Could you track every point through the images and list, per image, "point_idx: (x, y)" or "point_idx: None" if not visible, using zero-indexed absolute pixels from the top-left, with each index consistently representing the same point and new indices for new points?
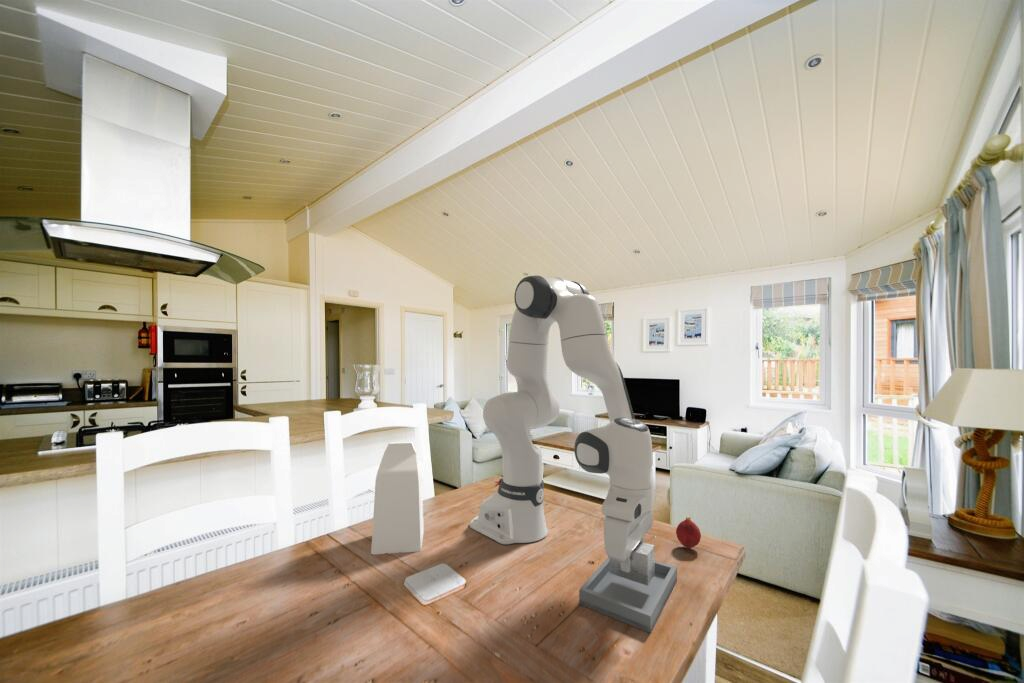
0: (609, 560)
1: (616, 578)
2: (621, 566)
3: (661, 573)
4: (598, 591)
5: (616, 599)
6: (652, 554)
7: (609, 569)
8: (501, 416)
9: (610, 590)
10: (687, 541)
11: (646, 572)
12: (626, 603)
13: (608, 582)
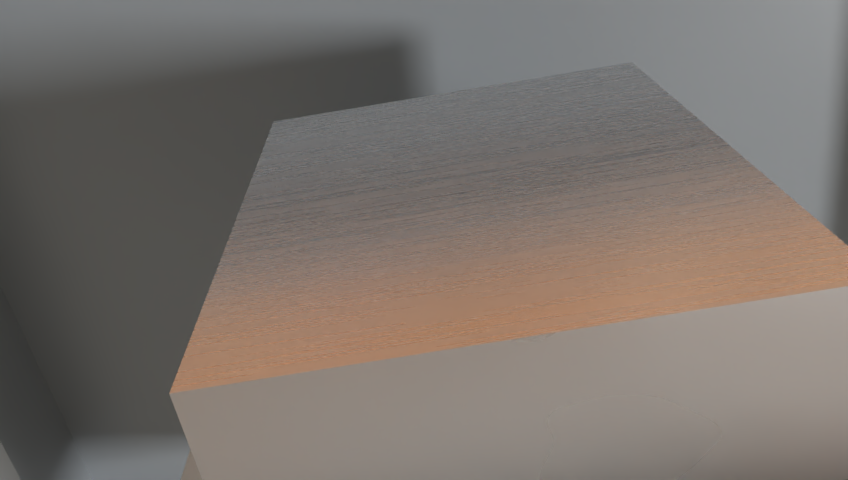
0: (243, 205)
1: (521, 35)
2: (193, 457)
3: None
4: (107, 24)
5: (159, 238)
6: None
7: (268, 143)
8: None
9: (244, 114)
10: None
11: None
12: (189, 327)
13: (366, 11)
